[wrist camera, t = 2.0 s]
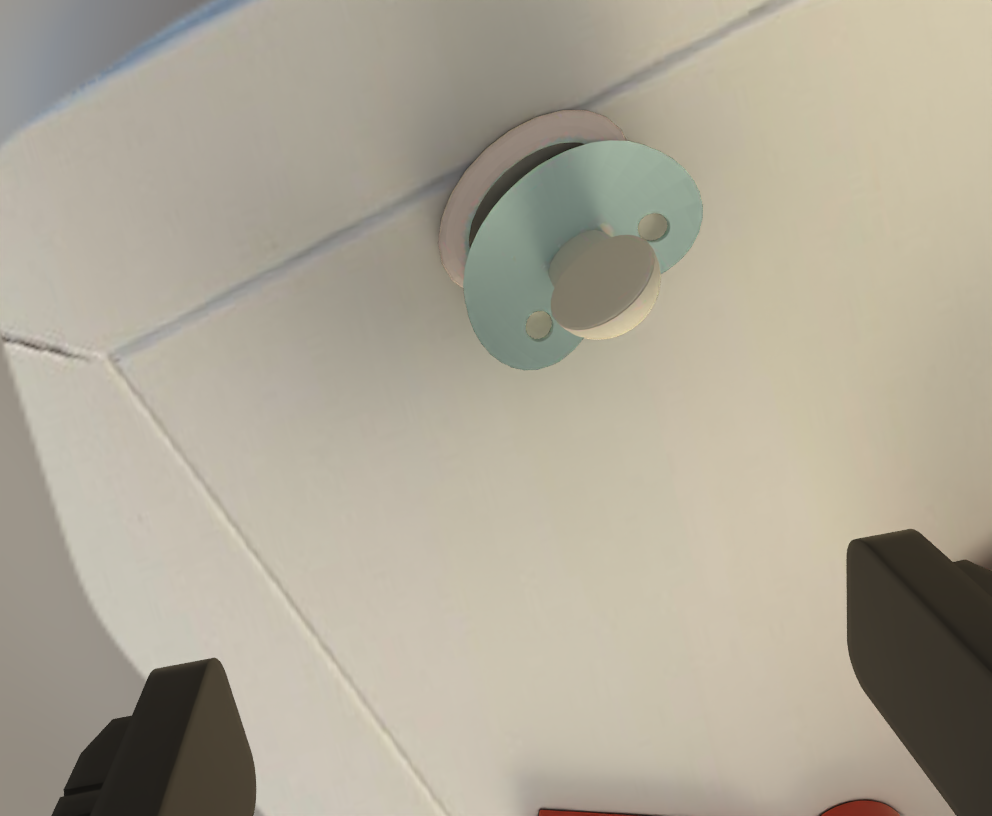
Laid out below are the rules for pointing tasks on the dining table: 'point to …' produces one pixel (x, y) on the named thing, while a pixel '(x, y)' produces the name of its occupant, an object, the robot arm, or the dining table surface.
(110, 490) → the dining table surface
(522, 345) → the pacifier
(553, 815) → the spoon
